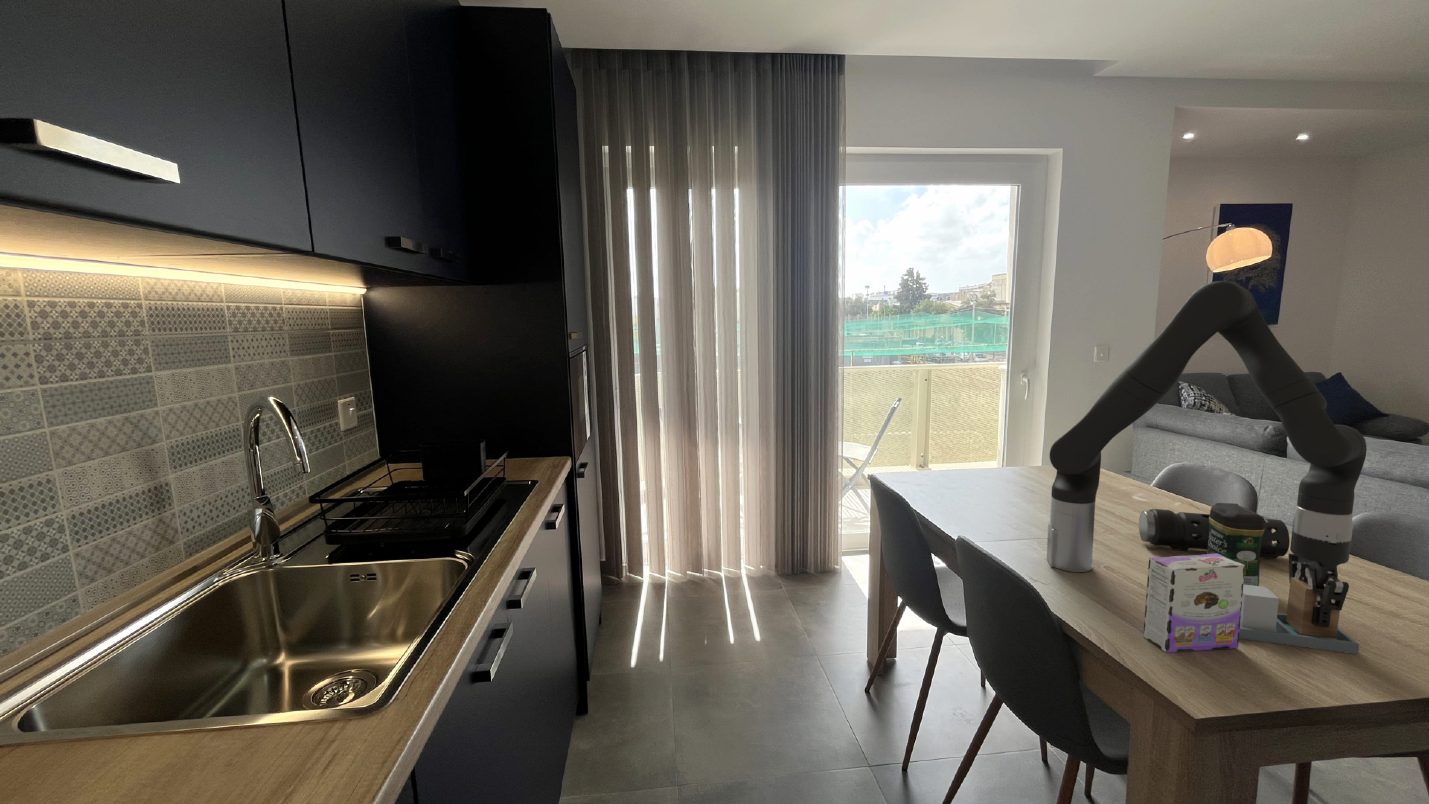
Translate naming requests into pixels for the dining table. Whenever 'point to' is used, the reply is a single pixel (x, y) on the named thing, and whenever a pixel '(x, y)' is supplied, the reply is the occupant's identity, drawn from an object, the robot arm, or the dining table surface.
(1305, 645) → the divider rack
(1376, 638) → the dining table surface
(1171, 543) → the muzzle brake
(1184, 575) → the candy box
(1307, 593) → the walnut plug
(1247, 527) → the coffee jar
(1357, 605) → the dining table surface
